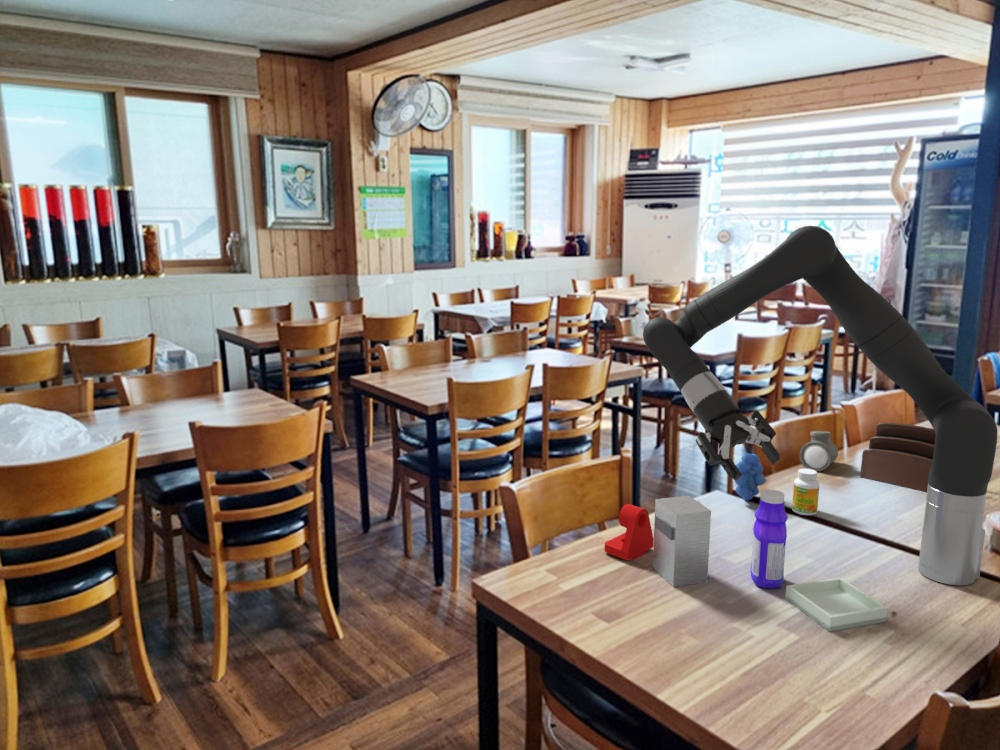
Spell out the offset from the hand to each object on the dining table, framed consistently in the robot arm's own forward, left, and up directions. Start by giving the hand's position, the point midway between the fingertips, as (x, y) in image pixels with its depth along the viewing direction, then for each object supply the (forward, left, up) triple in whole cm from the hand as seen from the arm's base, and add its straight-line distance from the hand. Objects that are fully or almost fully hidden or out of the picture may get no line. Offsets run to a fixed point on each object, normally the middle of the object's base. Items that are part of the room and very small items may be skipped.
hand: (758, 470), depth 135 cm
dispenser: (+13, -4, -21) cm, 25 cm away
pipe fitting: (-56, -50, -21) cm, 78 cm away
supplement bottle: (-30, -24, -21) cm, 44 cm away
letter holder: (-68, -34, -21) cm, 79 cm away
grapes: (-22, -33, -21) cm, 45 cm away
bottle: (-1, +3, -21) cm, 21 cm away
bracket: (+18, -16, -21) cm, 32 cm away
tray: (-6, +15, -21) cm, 26 cm away
